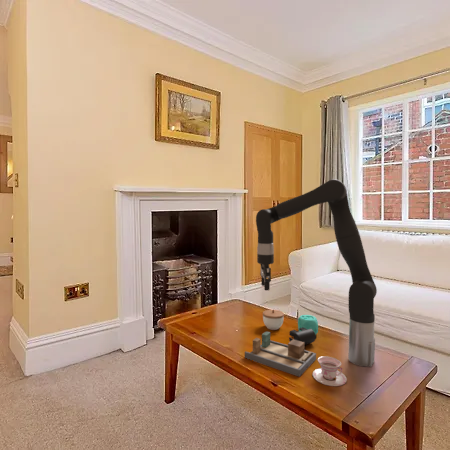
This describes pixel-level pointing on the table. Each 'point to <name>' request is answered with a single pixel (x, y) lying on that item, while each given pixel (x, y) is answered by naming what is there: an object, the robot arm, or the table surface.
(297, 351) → the walnut cube
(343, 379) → the teacup
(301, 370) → the tray
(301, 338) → the end cap
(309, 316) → the decorative dice
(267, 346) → the strip
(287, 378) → the table surface
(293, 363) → the strip
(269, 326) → the lidded jar
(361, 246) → the robot arm
